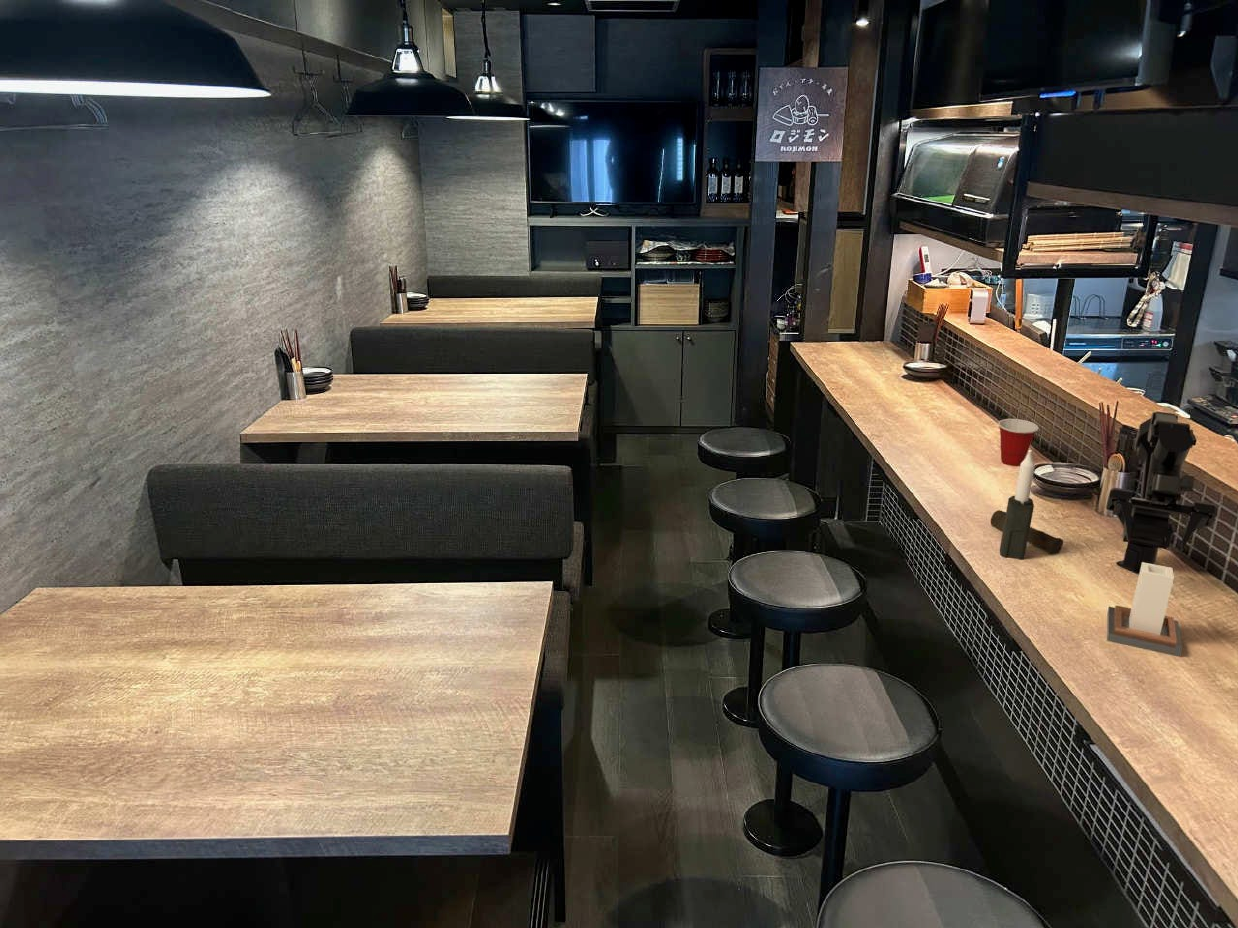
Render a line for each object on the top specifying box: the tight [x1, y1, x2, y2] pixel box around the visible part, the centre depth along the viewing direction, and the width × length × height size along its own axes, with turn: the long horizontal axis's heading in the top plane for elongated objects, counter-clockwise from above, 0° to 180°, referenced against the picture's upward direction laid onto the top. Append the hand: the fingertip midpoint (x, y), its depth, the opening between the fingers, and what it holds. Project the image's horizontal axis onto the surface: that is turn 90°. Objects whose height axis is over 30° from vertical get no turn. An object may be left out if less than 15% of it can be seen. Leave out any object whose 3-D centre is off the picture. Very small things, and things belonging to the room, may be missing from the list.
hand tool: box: [990, 509, 1064, 556], centre depth 217 cm, size 19×4×5 cm, turn 25°
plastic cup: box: [997, 418, 1039, 467], centre depth 267 cm, size 11×11×12 cm
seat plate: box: [1106, 605, 1183, 658], centre depth 175 cm, size 12×12×4 cm
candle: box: [999, 449, 1036, 561], centre depth 205 cm, size 5×5×25 cm
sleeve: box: [1129, 562, 1175, 635], centre depth 173 cm, size 5×5×12 cm
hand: (1154, 545), depth 182 cm, fingers open, 9 cm apart
